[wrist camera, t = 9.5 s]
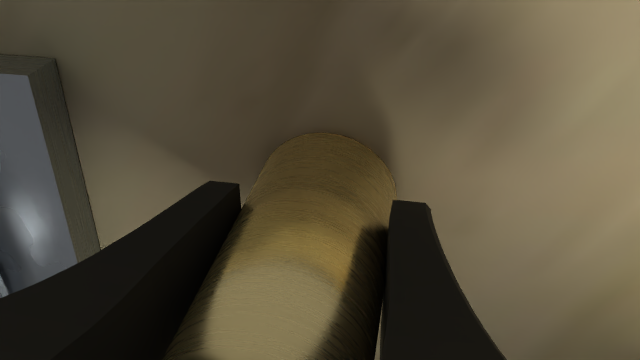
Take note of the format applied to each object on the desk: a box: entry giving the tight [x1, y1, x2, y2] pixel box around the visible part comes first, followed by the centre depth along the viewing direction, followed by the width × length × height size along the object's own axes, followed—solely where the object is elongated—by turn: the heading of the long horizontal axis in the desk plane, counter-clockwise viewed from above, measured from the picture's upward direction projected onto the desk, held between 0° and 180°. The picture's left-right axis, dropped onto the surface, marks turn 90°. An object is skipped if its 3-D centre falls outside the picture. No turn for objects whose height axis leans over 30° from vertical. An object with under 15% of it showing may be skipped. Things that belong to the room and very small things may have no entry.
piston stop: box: [162, 133, 396, 360], centre depth 10 cm, size 3×3×7 cm
